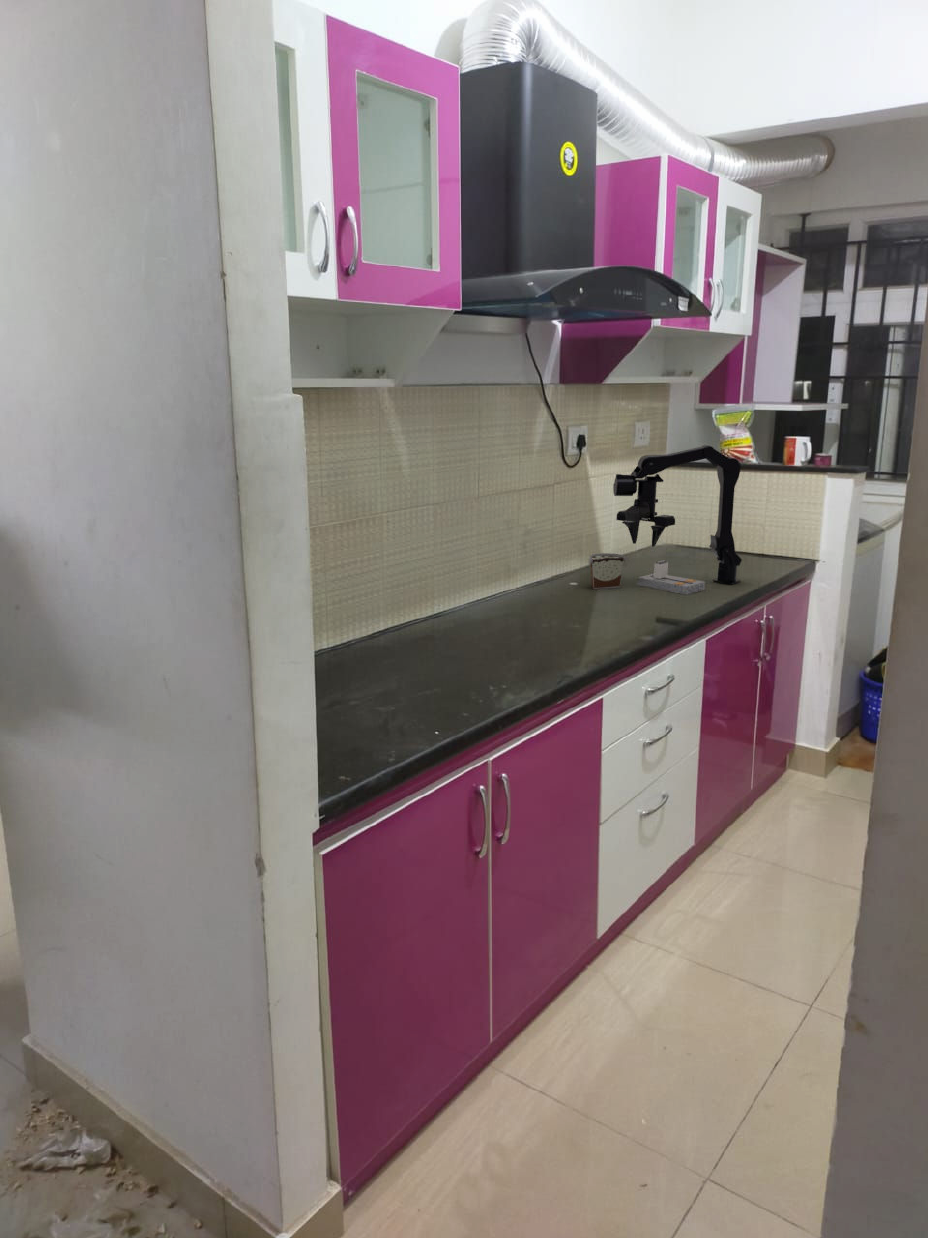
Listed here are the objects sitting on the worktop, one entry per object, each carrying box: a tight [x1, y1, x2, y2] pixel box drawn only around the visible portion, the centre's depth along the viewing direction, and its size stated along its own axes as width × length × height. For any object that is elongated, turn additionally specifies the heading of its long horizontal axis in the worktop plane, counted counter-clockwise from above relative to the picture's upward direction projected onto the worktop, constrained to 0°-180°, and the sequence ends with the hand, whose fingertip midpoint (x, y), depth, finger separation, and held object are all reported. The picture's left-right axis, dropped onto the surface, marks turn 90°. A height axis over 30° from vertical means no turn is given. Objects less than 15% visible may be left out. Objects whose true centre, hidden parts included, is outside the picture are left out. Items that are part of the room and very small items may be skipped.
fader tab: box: [653, 559, 669, 579], centre depth 290 cm, size 4×2×5 cm, turn 135°
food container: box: [588, 552, 627, 590], centre depth 289 cm, size 12×6×10 cm, turn 109°
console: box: [637, 573, 706, 596], centre depth 288 cm, size 10×18×3 cm, turn 44°
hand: (643, 545), depth 293 cm, fingers open, 7 cm apart
